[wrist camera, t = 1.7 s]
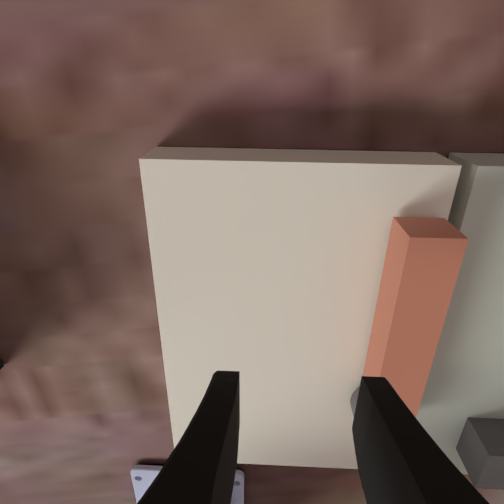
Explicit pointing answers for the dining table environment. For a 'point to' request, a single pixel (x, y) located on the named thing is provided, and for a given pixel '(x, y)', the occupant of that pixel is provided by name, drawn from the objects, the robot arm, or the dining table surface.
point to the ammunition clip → (1, 363)
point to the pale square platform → (321, 292)
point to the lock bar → (412, 304)
